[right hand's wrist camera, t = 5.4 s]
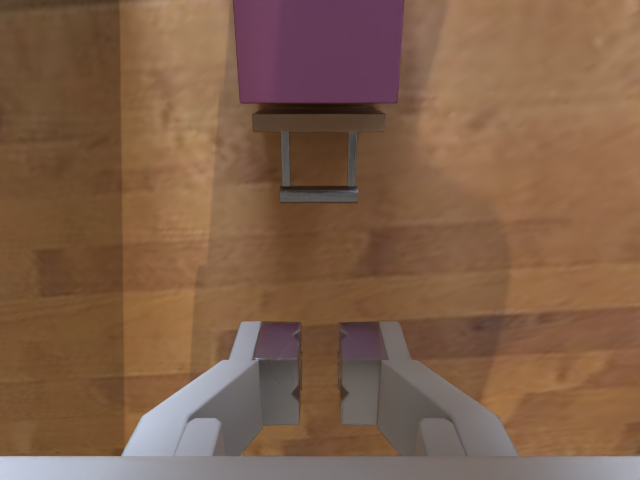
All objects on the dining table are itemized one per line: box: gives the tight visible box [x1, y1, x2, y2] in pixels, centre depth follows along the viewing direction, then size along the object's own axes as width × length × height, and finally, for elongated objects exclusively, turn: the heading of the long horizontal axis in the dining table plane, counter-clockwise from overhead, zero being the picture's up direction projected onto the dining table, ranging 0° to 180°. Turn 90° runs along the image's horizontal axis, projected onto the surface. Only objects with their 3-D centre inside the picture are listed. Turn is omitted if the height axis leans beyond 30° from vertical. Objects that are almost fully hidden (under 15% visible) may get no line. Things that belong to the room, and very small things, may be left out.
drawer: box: [252, 108, 385, 203], centre depth 29 cm, size 22×9×6 cm, turn 0°
